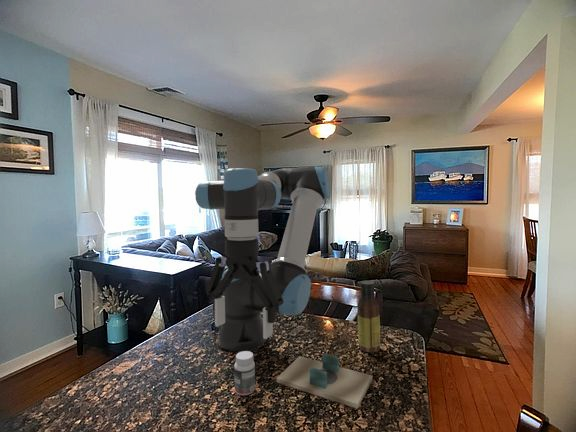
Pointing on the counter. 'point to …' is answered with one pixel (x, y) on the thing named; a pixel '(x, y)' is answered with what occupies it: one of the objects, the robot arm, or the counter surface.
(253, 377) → the pill bottle
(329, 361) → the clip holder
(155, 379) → the counter surface
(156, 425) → the counter surface
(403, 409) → the counter surface
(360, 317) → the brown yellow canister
